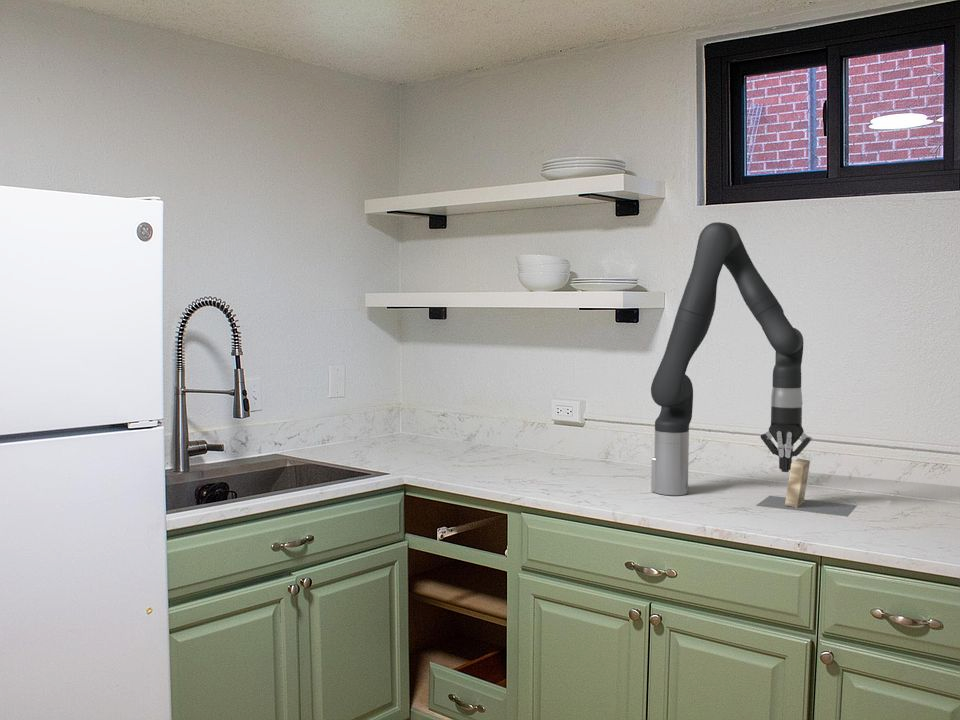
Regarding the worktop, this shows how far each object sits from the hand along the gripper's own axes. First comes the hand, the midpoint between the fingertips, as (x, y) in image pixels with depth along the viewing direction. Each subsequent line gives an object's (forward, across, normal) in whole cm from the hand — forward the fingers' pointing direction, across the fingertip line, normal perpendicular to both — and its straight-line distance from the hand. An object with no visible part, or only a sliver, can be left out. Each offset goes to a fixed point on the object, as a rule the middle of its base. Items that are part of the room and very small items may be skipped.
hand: (785, 471), depth 234 cm
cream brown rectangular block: (+8, +2, 0) cm, 8 cm away
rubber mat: (+9, +5, 0) cm, 10 cm away
